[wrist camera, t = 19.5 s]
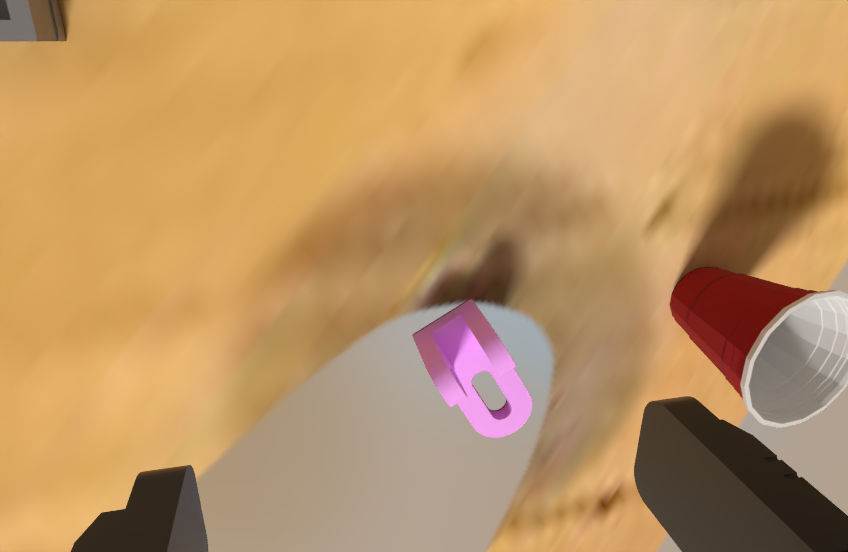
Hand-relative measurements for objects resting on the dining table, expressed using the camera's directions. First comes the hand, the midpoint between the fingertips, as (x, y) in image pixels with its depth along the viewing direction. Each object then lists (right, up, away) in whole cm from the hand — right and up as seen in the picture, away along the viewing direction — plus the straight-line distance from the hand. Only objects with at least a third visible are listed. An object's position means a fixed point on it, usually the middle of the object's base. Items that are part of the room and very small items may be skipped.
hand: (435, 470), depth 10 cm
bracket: (+4, -5, +39) cm, 39 cm away
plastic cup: (+24, +2, +41) cm, 48 cm away
